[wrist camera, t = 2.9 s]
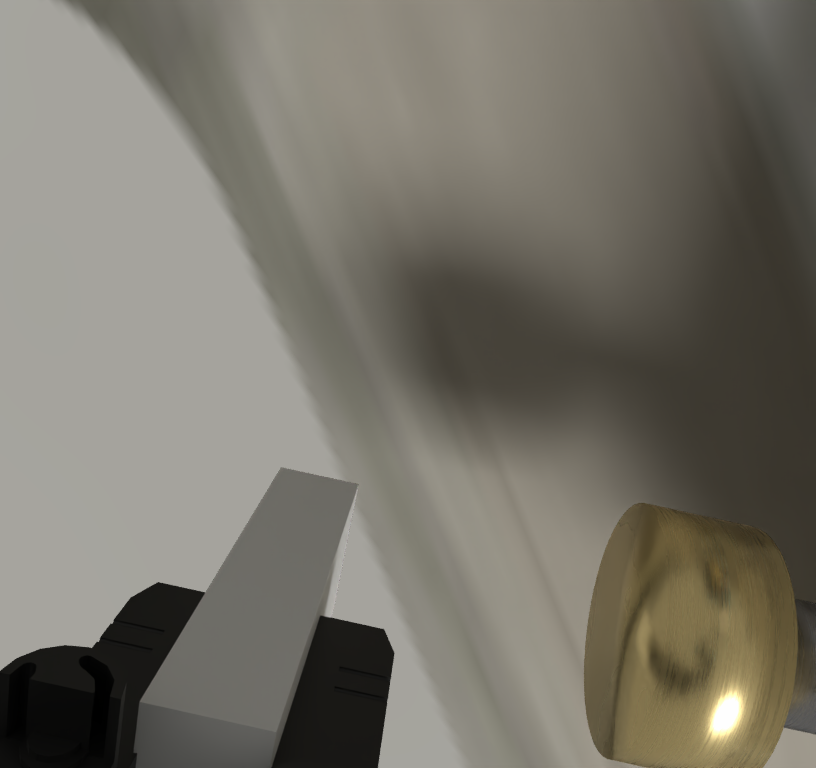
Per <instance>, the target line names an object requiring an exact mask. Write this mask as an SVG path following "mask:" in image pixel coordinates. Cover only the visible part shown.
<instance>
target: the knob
mask: <svg viewBox="0 0 816 768" xmlns="http://www.w3.org/2000/svg"><path fill="white" fill-rule="evenodd" d="M584 692H585V705H586V714H587V720H588V725H589V729H590V733H591V736H592V739H593V742H594V744H595V746H596V748H597V750H598V751H599V752H600V754H601V755H602V756H603V757H605V758H607V759H610V760H615V761H619V762H624V763H628V764H633V765H637V766H642V767H646V768H763V766H764V765H765V764H766V762H767V761H768V759H769V758H770V756H771V754H772V753H773V751H774V749H775V747H776V744H777V742H778V740H779V738H780V735H781V733H782V730H783V727H784V728H789V729H793V730H798V731H802V732H807V733H811V734H816V603H811V602H807V601H802V600H798V599H795V598H794V592H793V587H792V583H791V579H790V575H789V572H788V569H787V566H786V563H785V561H784V559H783V557H782V554H781V552H780V550H779V549H778V547H777V546H776V544H775V543H774V541H773V540H772V539H771V538H770V537H769V536H768V535H767V534H766V533H765V532H763V531H762V530H760V529H758V528H755V527H752V526H747V525H743V524H738V523H734V522H729V521H724V520H720V519H715V518H711V517H706V516H701V515H697V514H692V513H688V512H683V511H678V510H674V509H669V508H665V507H660V506H655V505H651V504H646V503H638V504H635V505H633V506H632V507H630V508H629V509H628V510H627V511H626V512H625V513H624V514H623V516H622V517H621V519H620V520H619V522H618V523H617V525H616V527H615V529H614V531H613V533H612V535H611V537H610V539H609V542H608V544H607V547H606V549H605V552H604V555H603V558H602V561H601V564H600V567H599V571H598V574H597V578H596V582H595V586H594V591H593V596H592V601H591V606H590V612H589V618H588V626H587V634H586V644H585V659H584Z"/></svg>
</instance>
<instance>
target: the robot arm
mask: <svg viewBox="0 0 816 768" xmlns="http://www.w3.org/2000/svg"><path fill="white" fill-rule="evenodd" d="M358 485H359V484H355V483H351V482H346V481H342V480H337V479H332V478H328V477H323V476H318V475H313V474H309V473H305V472H300V471H295V470H291V469H286V468H280V470H279V472H278V473H277V475H276V477H275V478H274V480H273V482H272V483H271V485H270V487H269V488H268V490H267V492H266V493H265V495H264V497H263V499H262V500H261V502H260V503H259V505H258V507H257V508H256V510H255V512H254V513H253V515H252V516H251V518H250V520H249V521H248V523H247V525H246V526H245V528H244V530H243V531H242V533H241V535H240V536H239V538H238V540H237V541H236V543H235V545H234V546H233V548H232V550H231V551H230V553H229V555H228V556H227V558H226V560H225V561H224V563H223V565H222V566H221V568H220V569H219V571H218V573H217V574H216V576H215V578H214V579H213V581H212V583H211V584H210V586H209V588H208V589H207V591H206V593H205V592H201V591H196V590H191V589H187V588H182V587H178V586H173V585H168V584H164V583H159V582H158V583H156V584H154V585H152V586H151V587H149V588H147V589H145V590H143V591H142V592H140V593H138V594H136V595H135V596H133V597H131V598H130V599H129V601H128V602H127V603H126V605H125V606H124V607H123V608H122V610H121V611H120V613H119V614H118V615H117V616H116V618H115V619H114V622H113V624H110V625H109V627H108V628H107V629H106V631H105V632H104V633H103V634H102V636H101V638H100V641H99V642H96V644H95V645H94V646H93V647H92V648H89V647H79V646H67V645H64V646H57V647H50V648H44V649H39V650H36V651H34V652H31V653H29V654H26V655H24V656H21V657H19V658H17V659H15V660H14V661H12V662H11V663H10V664H8V665H7V666H6V667H5V668H3V669H2V670H1V671H0V768H378V762H379V755H380V748H381V742H382V734H383V727H384V721H385V714H386V707H387V699H388V693H389V686H390V679H391V673H392V665H393V659H394V651H393V649H392V647H391V644H390V642H389V640H388V637H387V635H386V633H385V631H384V629H380V628H375V627H371V626H367V625H362V624H357V623H353V622H348V621H344V620H339V619H335V618H331V617H332V613H333V610H334V605H335V600H336V595H337V591H338V585H339V581H340V576H341V570H342V566H343V561H344V556H345V550H346V545H347V540H348V535H349V530H350V525H351V520H352V515H353V510H354V505H355V500H356V495H357V490H358Z"/></svg>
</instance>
